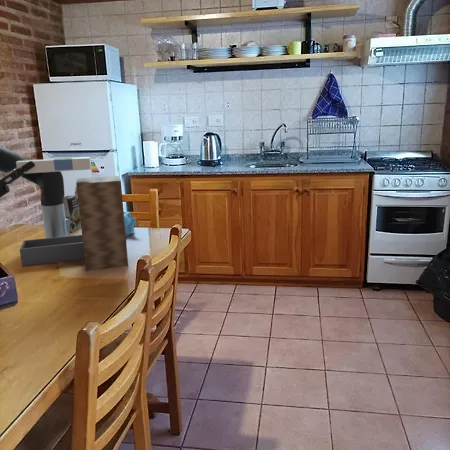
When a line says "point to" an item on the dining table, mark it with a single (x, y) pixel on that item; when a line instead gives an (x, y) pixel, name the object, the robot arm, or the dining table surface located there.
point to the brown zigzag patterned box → (102, 222)
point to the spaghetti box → (57, 165)
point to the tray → (52, 250)
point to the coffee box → (72, 212)
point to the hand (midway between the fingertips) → (33, 162)
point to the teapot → (129, 223)
